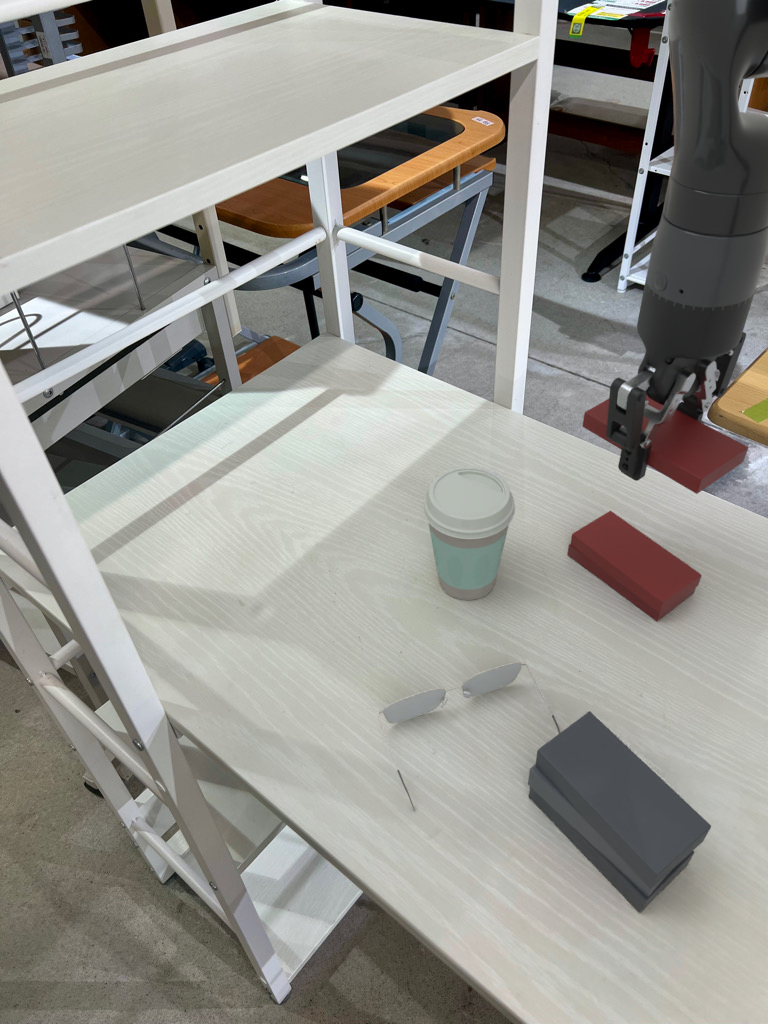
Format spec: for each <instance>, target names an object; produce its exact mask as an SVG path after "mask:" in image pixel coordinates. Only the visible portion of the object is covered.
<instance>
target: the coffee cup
mask: <svg viewBox="0 0 768 1024" xmlns="http://www.w3.org/2000/svg"><path fill="white" fill-rule="evenodd" d="M422 511H423V515H424V517H425V520H426V521H427V522H428V528H429V533H430V539H431V540H430V541H431V546H432V549H433V550H432V551H433V557H434V562H435V567H436V572H437V578H438V584H439V585H440V587H441V589H442V590H443V591H444V593H446V594H448V595H449V596H451V597H453V598H455V599H458V600H461V601H462V600H463V601H472V600H473V601H474V600H477V599H480V598H483V597H485V596H486V595H488V594H489V593H490V592H491V591H492V590H493V589H494V587H495V584H496V581H497V577H498V573H499V569H500V564H501V560H502V556H503V552H504V547H505V542H506V539H507V534H508V530H509V527H510V523H511V522H512V521H513V519H514V516H515V513H516V506H515V498H514V495H513V493H512V492H511V489H510V486H509V484H508V482H507V481H506V480H505V478H503V477H502V475H500V474H498V473H497V472H496V471H493V470H491V469H488V468H486V467H481V466H476V465H463V466H456V467H452V468H449V469H446V470H444V471H443V472H441V473H440V474H438V475H437V476H435V477H434V479H433V480H432V481H431V482H430V485H429V487H428V489H427V491H426V493H425V495H424V499H423V504H422Z"/></svg>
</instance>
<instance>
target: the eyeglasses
mask: <svg viewBox="0 0 768 1024" xmlns="http://www.w3.org/2000/svg"><path fill="white" fill-rule="evenodd" d="M522 666H526V668H527V670H528V672H529V674H530V676H531V678H532V680H533V682H534V685H536V688H537V690H538V692H539V694H540V696H541V698H542V699H543V701H544V703H545V705H546V707H547V709H548V711H549V713H550V715H551V718H552V720H553V722H554V724H555V727H556V729H557V732H558V734H559V733H561V730H560V727H559V724H558V722H557V720H556V717H555V715H554V714H553V711H552V710H551V707H550V706H549V704H548V702H547V700H546V698H545V696H544V694H543V692H542V690H541V688H540V685H539V683H538V681H537V679H536V677H535V675H534V673H533V671H532V669H531V667H530V665H529V664H528V663H527V662H526V661H524V662H521V661H514V662H509V663H505V664H502V665H498V666H495V667H492V668H488V669H486V670H484V671H480V672H478V673H475V674H473V675H471V676H469V677H468V678H467V679H465V680H464V681H463V682H462V683H461V684H458V685H457V686H454V687H451V688H447V689H445V688H444V687H436V688H435V687H434V688H431V689H426V690H423V691H421V692H420V691H419V692H418V693H417V692H416V693H414V694H411V695H409V696H406V697H403V698H401V699H398V700H396V701H393V702H391V703H389V704H387V705H386V706H385V707H384V708H383V709H381V710H378V711H377V714H376V715H377V720H378V722H379V725H380V727H381V730H382V733H383V736H384V738H385V741H386V743H387V746H388V748H389V751H390V754H391V757H392V760H393V762H394V765H395V768H396V772H397V774H398V776H399V778H400V781H401V784H402V785H403V788H404V791H405V792H406V794H407V797H408V799H409V801H410V804H411V806H412V809H413V811H414V812H416V809H415V807H414V804H413V801H412V798H411V795H410V794H409V791H408V788H407V786H406V784H405V782H404V779H403V777H402V774H401V772H400V769H399V767H398V764H397V762H396V759H395V756H394V753H393V750H392V748H391V744H390V742H389V739H388V736H387V734H386V731H385V728H384V725H383V722H382V719H381V715H380V714H383V716H384V719H385V720H386V721H387V722H388V723H389V724H394V725H395V724H399V723H403V722H406V721H408V720H409V721H410V720H412V719H415V718H417V717H420V716H423V715H425V714H428V713H431V712H433V711H434V710H436V709H437V708H438V707H439V706H440V705H441V704H442V705H441V706H440V707H441V708H442V709H443V708H444V707H445V705H446V703H447V702H448V701H449V697H446V694H447V693H446V692H449V691H453V690H456V689H458V688H460V687H461V690H462V695H463V697H464V698H466V699H469V700H470V699H472V698H474V697H479V696H482V695H484V694H488V693H491V692H494V691H497V690H500V689H502V688H505V687H507V686H509V685H510V684H512V683H514V681H515V680H517V677H518V675H519V674H520V671H521V669H522Z"/></svg>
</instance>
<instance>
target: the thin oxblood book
mask: <svg viewBox="0 0 768 1024" xmlns="http://www.w3.org/2000/svg"><path fill="white" fill-rule="evenodd" d="M646 400H648V401H649V403H648V405H650V406H652V407H653V408H655V409H657V410H659V411H660V410H661V409H662V408H663V406H664V405H661V404H659V403H657V402H655V401H653V400H652V399H650V398H649V397H648V396H647V394H646ZM608 407H609V398H607V399H605V400H603V401H602V402H600V403H599V404H597V405H595V406H593V407H591V408H589V409H588V410H586V411H584V413H583V420H582V427H583V429H586V430H587V431H589V432H590V433H593V434H594V435H596V436H597V437H599V438H601V439H603V440H604V441H606V442H607V443H610V445H613V446H614V447H616V448H619V449H620V451H621V450H622V446H620V445H618V444H617V443H615V442H613V441H611V440H610V439H608V438H607V437H606V430H607V419H608ZM648 423H649V420H648V418H646V417H644V416H643V424H642V431H645V429H646V427H647V425H648ZM621 427H622V425H621ZM651 445H652V447H651V451H650V455H649V459H648V463H647V467H650V468H652V469H654V470H655V471H657V472H659V473H660V474H661V475H664V476H665V477H667V478H669V479H670V480H672V481H673V482H676V483H677V484H679V485H680V486H682V487H684V488H686V489H687V490H689V491H691V492H692V493H694V494H696V495H698V494H699V493H701V492H702V491H703V490H705V489H706V488H708V487H710V486H711V485H713V484H714V483H715V482H717V481H719V480H720V479H721V478H722V477H724V476H725V475H727V474H728V473H729V472H731V471H732V470H734V469H735V468H737V467H738V466H740V465H741V464H743V463H744V461H745V459H746V456H747V452H748V450H749V446H748V445H746V444H744V443H741V442H740V441H737V440H736V439H734V438H732V437H730V436H728V435H726V434H724V433H722V432H721V431H718V430H717V429H714V428H712V427H711V426H709V425H707V424H705V423H703V422H702V421H701V422H699V421H697V420H695V419H693V418H691V417H689V416H688V415H686V414H684V413H682V412H680V411H678V410H675V412H674V414H673V416H672V418H671V420H670V421H669V423H667V424H662V425H661V426H660V428H659V430H658V432H657V434H656V436H655V438H654V440H653V442H652V443H651Z"/></svg>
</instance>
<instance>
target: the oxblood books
mask: <svg viewBox="0 0 768 1024" xmlns="http://www.w3.org/2000/svg"><path fill="white" fill-rule="evenodd" d="M567 556H568V557H569V558H570V559H572V560H573V561H574V562H576V563H577V564H578V565H580V566H581V567H583V568H584V569H585V570H586V571H588V572H589V573H591V574H592V575H593V576H595V577H596V578H598V579H599V580H600V581H601V582H603V583H604V584H606V585H607V586H608V587H610V588H611V589H612V590H614V591H615V592H616V593H618V594H619V595H620V596H622V597H623V598H625V599H626V600H627V601H629V602H630V603H631V604H633V606H635V607H637V608H638V609H639V610H641V611H642V612H643V613H645V614H646V615H647V616H648V617H650V618H652V619H653V620H654V621H656V622H659V621H660V620H661V619H663V618H664V617H666V615H668V614H669V613H670V612H672V611H673V610H674V609H676V608H677V607H678V606H679V605H681V604H683V602H684V601H686V600H688V599H689V598H690V597H691V596H692V595H694V594H695V591H696V588H697V587H698V586H699V584H700V582H701V578H702V576H703V575H702V574H701V573H700V572H699V571H697V570H696V569H695V568H693V567H691V565H689V564H687V563H686V562H685V561H683V560H682V559H680V558H679V557H677V556H676V555H674V554H673V553H671V552H670V551H669V550H668V549H666V548H664V547H663V546H662V545H661V544H659V543H658V542H656V541H655V540H654V539H653V538H652V539H651V538H650V537H649V536H647V535H646V534H644V533H643V532H641V530H639V529H638V528H636V527H635V526H633V525H632V524H630V523H629V522H628V521H626V520H624V519H623V518H622V517H620V516H619V515H617V514H616V513H614V512H613V511H612V510H608V511H607V512H606V513H604V514H602V515H600V516H599V517H597V518H595V519H594V520H592V521H591V522H589V523H587V524H586V525H584V526H583V527H581V528H579V529H578V530H576V531H574V532H572V533H571V539H570V543H569V544H568V549H567Z"/></svg>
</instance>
